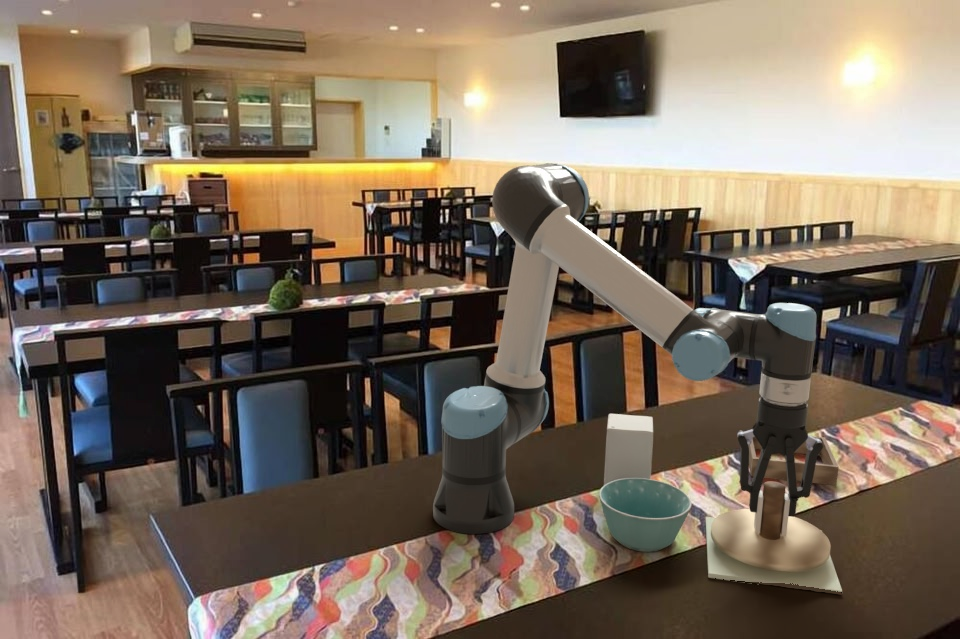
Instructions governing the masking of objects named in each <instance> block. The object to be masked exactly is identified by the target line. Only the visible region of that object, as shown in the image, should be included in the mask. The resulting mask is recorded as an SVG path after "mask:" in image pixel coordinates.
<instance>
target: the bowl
mask: <svg viewBox="0 0 960 639" xmlns="http://www.w3.org/2000/svg"><path fill="white" fill-rule="evenodd" d="M598 496H599V500H600V503H601V508H602V511H603V514H604V517H605V518H604V519H605V521H606V524H607V527H608V529H609V533H610V534H611V536H612V537H613V539H615V540H616V541H617V542H618V543H619V544H621V545H622V546H623V547H625V548H627V549H629V550H633V551H637V552H643V553H646V552H647V553H649V552H650V553H651V552H658V551H661V550H663V549H665V548H666V547H668V546H670V545H671V544H673V543H674V542H675V540H676V538H677V537H678V534H679V532H680V531H681V529H682V527H683V525H684V522H685V521H686V519H687V517H688V515H689V512H690V510H691V509H692V500H691V497H690V496H689V495H688V494H687V493H686V492H685V491H684V490H682V489H681V488H678V487H677V486H674V485H672V484H671V483H667V482H664V481H660V480H657V479H654V478H651V479H645V478H624V479H618V480H614V481H611V482H609V483H607V484H606V485H604V484H603V486H602V487H601V488H600V489H599V492H598Z"/></svg>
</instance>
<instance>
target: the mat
mask: <svg viewBox="0 0 960 639" xmlns="http://www.w3.org/2000/svg"><path fill="white" fill-rule="evenodd" d="M715 518H716V517H713V516H711V517H710V516H705V536H706V537H705V539H706V555H707V558H706V561H707V574H708V575H707V577H708V578H709V579H715V578H716V579H715V580H723V579H724V580H723V581H730V580H735V581H734V582H737V581H745V582H759V583H760V582H762V583H785V584H790V583H791V584H792V583H793V584H794V585H795V584H796V585H797V584H798V585H799V586H806V587H814V588H819V589H825V590H831V591H836V592H837V591H838V592H842V593H843V589H842V586H841V584H840V579H839V578H838V575H837V571H836V569H835V565H834V562H833V559H832V557H831V555H830V556H829V558H828V560H827V561H826V562H825V563H824V564H823V565H821V566H819V567H817V568H814V569H811V570H806V571H794V572H788V571H775V570H769V569H764V568H759V567H756V566H752V565H749V564H746V563H744V562H741V561H739V560H737V559H734V558H733V557H731V556H729V555H727V554H726V553H724V552H723V551H722V550H720V549H719V548H718V547H717V546H716V545H715V543H714V542H713V540H712V538H711V525H712V522H713V520H714V519H715ZM820 530H821V529H820ZM821 531H822V532H823V530H821ZM745 582H744V583H745ZM793 584H792V585H793Z"/></svg>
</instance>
